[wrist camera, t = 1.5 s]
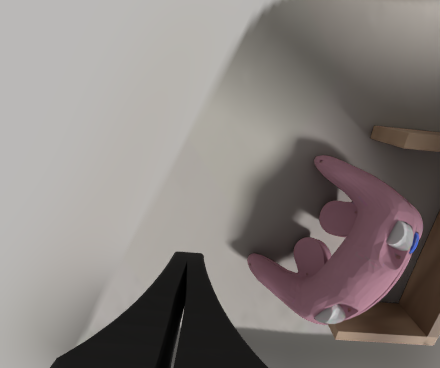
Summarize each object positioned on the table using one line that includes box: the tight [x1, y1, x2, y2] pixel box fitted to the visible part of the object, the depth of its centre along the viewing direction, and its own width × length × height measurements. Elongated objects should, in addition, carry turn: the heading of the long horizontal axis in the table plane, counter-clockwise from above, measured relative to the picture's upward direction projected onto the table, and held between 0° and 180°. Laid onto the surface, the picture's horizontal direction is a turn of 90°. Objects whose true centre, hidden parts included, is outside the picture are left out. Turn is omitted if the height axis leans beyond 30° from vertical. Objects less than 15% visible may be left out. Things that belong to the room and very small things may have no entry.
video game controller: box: [247, 155, 423, 325], centre depth 16 cm, size 10×5×7 cm, turn 152°
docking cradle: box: [328, 126, 440, 345], centre depth 17 cm, size 7×15×3 cm, turn 174°
